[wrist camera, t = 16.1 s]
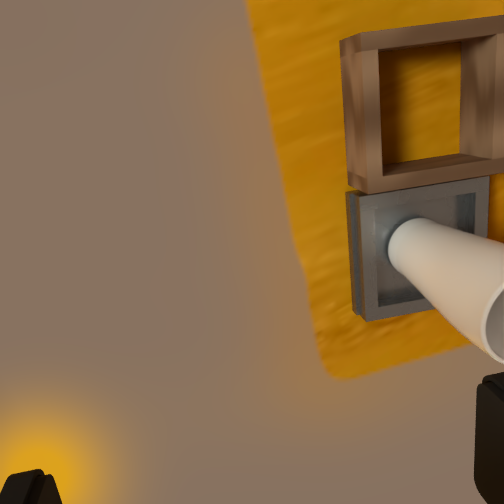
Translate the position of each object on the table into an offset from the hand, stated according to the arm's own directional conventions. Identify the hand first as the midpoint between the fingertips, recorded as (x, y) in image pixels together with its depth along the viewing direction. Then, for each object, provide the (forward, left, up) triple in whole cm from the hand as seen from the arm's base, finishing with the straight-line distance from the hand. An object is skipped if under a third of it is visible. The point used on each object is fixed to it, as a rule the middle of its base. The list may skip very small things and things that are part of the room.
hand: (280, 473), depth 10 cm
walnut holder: (-5, +18, -30) cm, 36 cm away
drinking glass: (+7, +18, -30) cm, 35 cm away
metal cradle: (+7, +18, -30) cm, 36 cm away
